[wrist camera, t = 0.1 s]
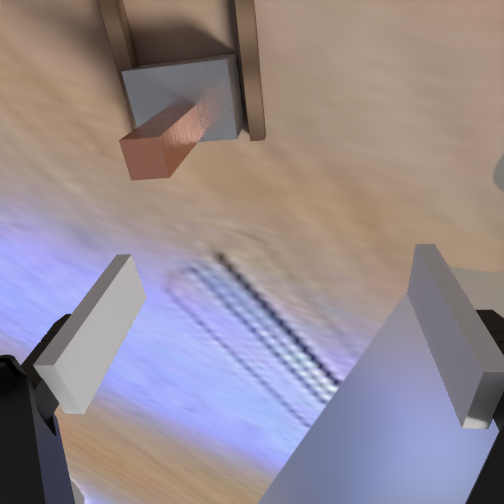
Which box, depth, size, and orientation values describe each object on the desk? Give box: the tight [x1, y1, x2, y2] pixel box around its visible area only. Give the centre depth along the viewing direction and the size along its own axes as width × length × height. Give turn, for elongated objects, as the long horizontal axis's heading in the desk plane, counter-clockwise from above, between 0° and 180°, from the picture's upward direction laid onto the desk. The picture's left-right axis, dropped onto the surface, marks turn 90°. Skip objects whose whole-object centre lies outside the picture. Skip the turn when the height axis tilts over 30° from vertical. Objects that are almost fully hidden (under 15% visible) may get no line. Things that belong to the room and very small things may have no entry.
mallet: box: [119, 54, 244, 180], centre depth 32 cm, size 7×10×17 cm
